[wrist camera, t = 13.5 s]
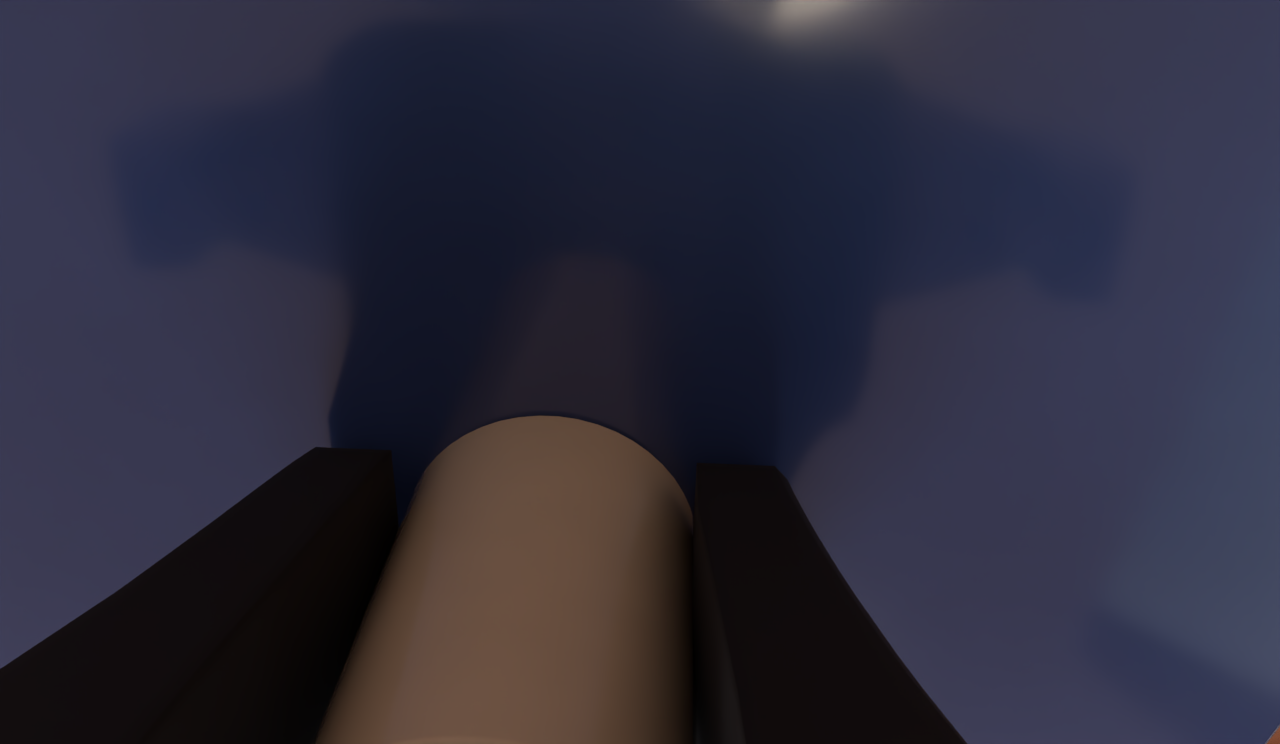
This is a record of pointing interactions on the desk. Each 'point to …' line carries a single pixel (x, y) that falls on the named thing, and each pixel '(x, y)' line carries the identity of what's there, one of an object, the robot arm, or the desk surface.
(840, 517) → the crock lid
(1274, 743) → the desk surface
